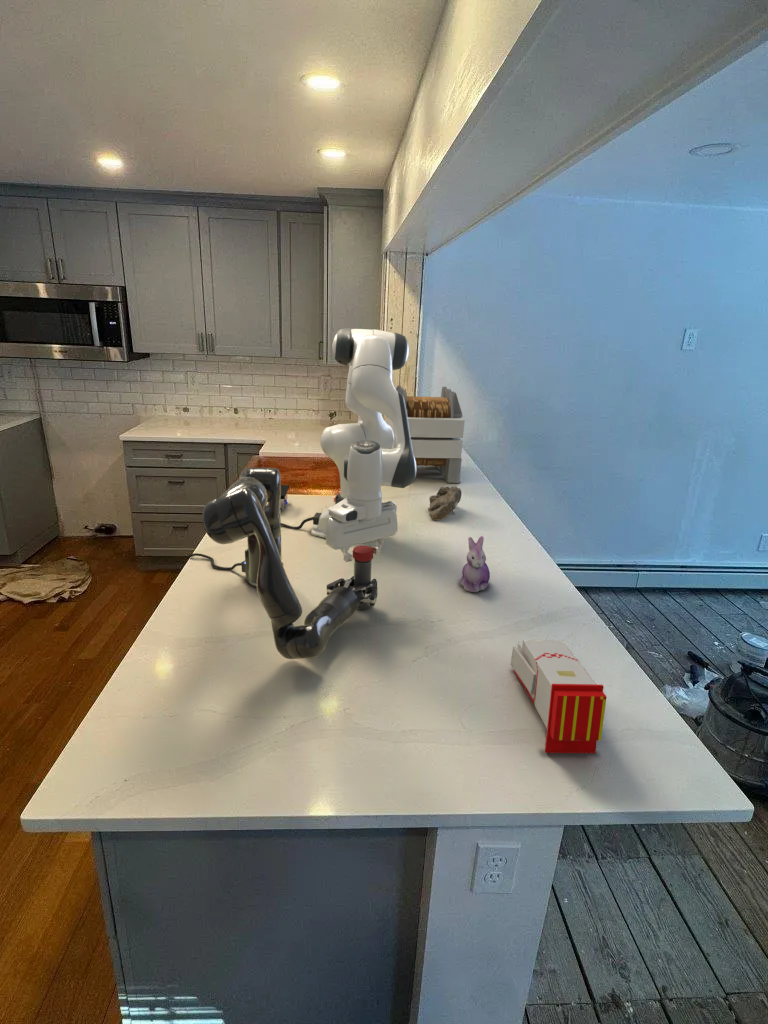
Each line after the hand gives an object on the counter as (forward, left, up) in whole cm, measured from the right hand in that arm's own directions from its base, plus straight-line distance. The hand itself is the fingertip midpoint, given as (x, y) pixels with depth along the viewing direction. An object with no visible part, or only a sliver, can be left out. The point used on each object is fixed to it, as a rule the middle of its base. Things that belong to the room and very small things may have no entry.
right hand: (362, 557), depth 146 cm
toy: (+49, -26, -14) cm, 57 cm away
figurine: (+28, +22, -14) cm, 38 cm away
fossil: (+8, +81, -14) cm, 83 cm away
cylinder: (0, 0, -14) cm, 14 cm away
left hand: (0, +3, -8) cm, 8 cm away
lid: (0, 0, +2) cm, 2 cm away
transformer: (-14, +133, -14) cm, 134 cm away
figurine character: (-53, +61, -14) cm, 82 cm away
